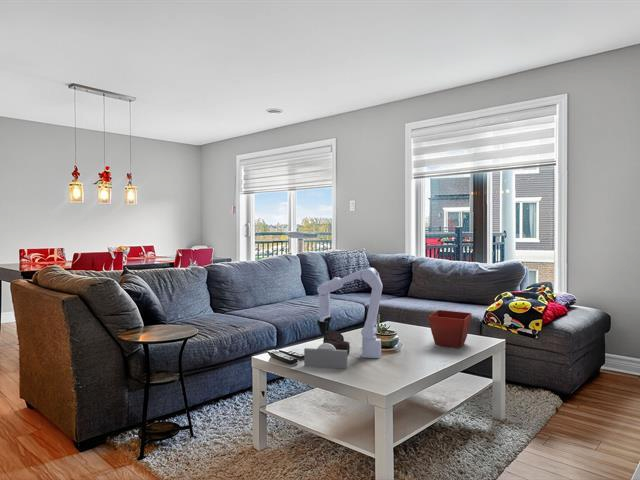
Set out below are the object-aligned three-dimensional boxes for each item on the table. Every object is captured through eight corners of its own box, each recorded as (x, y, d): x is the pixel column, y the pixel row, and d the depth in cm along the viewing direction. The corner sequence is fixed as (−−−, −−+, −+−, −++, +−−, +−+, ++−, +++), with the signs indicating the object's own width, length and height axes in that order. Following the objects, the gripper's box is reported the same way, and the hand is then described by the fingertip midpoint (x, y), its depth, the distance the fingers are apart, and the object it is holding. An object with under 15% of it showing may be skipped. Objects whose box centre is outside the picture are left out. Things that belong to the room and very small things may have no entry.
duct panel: (347, 366, 216) (347, 344, 215) (346, 368, 213) (346, 346, 212) (305, 364, 220) (305, 342, 220) (304, 366, 217) (304, 343, 216)
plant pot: (464, 351, 241) (464, 319, 240) (427, 346, 251) (428, 315, 250) (471, 343, 258) (472, 312, 257) (437, 339, 267) (437, 309, 267)
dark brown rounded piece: (347, 342, 231) (350, 330, 245) (317, 342, 234) (322, 330, 248) (348, 360, 233) (352, 347, 247) (319, 360, 236) (324, 347, 250)
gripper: (319, 303, 248) (319, 329, 249) (313, 308, 234) (314, 335, 234) (332, 304, 247) (332, 329, 247) (327, 309, 233) (327, 336, 233)
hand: (324, 332), depth 241 cm, fingers open, 7 cm apart
